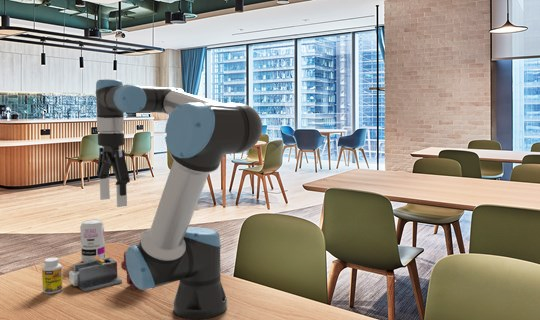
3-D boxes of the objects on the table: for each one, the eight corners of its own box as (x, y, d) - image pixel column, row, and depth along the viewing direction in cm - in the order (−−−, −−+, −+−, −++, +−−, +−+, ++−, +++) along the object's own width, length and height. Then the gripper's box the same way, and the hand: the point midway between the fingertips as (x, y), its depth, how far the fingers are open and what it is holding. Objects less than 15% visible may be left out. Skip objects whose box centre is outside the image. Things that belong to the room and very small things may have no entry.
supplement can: (100, 255, 178) (99, 218, 176) (108, 261, 171) (106, 222, 170) (78, 259, 172) (77, 221, 171) (86, 265, 166) (84, 225, 165)
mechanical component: (159, 281, 151) (145, 293, 141) (131, 279, 153) (115, 290, 143) (158, 245, 150) (144, 254, 140) (130, 243, 152) (114, 252, 142)
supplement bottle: (42, 295, 139) (41, 263, 138) (43, 289, 144) (41, 257, 143) (63, 292, 142) (61, 260, 140) (62, 286, 147) (61, 255, 145)
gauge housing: (121, 282, 150) (121, 264, 149) (84, 291, 142) (83, 272, 142) (106, 271, 160) (105, 254, 160) (70, 279, 153) (70, 261, 152)
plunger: (110, 279, 151) (109, 260, 150) (75, 287, 144) (74, 267, 143) (102, 273, 156) (101, 254, 155) (68, 280, 149) (67, 261, 148)
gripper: (140, 133, 128) (142, 207, 130) (108, 130, 147) (110, 195, 149) (114, 134, 123) (116, 211, 126) (84, 131, 142) (86, 197, 145)
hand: (113, 202), depth 137 cm, fingers open, 13 cm apart
